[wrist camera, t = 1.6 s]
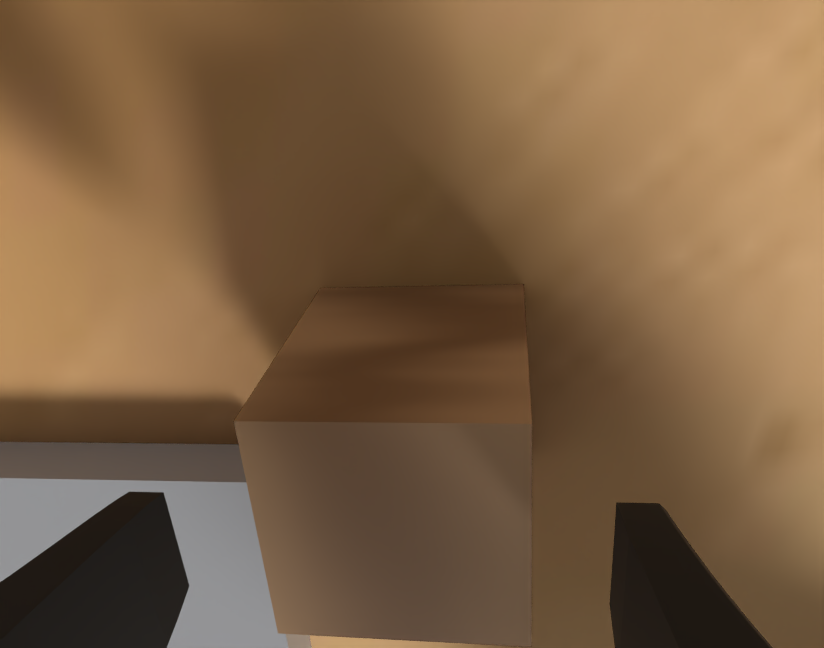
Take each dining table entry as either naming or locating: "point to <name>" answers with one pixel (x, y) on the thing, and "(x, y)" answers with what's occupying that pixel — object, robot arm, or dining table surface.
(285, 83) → the dining table surface
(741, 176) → the dining table surface
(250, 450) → the walnut block
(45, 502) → the slate slab
